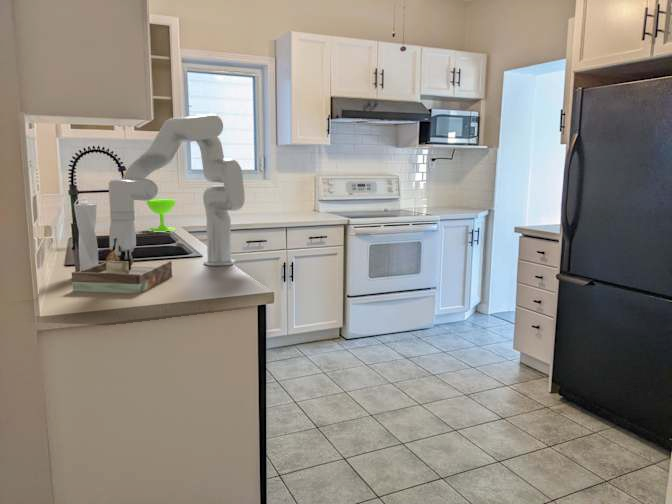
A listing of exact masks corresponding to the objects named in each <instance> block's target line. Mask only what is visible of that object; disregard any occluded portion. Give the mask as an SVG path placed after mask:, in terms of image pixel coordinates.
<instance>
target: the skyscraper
mask: <svg viewBox="0 0 672 504" xmlns="http://www.w3.org/2000/svg"><path fill="white" fill-rule="evenodd" d="M82 199H83V200H84V199H86V200H85V201H80V203H78V204H77V202H78V201H79V200H82ZM88 200H89V199H88V197H87V196H82V197H78V198H77V199H76V200H75V202H74V203H73V206H74V215H75V220H76V226H77V230H78V246H77V242H76V241H75V243H74V245H75V247H74V252H75V253H74V254H73V255H74V269H75V271H74V272H79V271H82V270H85V269H88V268H90V267H93V266H96V265H99V248H98V240H97V233H96V231H95V230H96V223H97V207H98V206H97V205H98V203H97V202H95V201H92V202H91V201H90V202H89V201H88Z"/></svg>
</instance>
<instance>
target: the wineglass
mask: <svg viewBox="0 0 672 504" xmlns="http://www.w3.org/2000/svg"><path fill="white" fill-rule="evenodd" d="M175 204H176V200H175V199H169V198H168V199H166V198H165V199H152V200H149V201H146V205H147V206H148V208H149V209H150V211H152V212H153V213H155V214H158V215H159V221H160V222H159V226H158V227H151V228H149V229H148V230H152V231H170V230H175V229H176V228H174V227H169V226H168V227H167V226H165V224H164V223H165V222H164V220H165V219H164V215H165V214H167V213H169V212H171V211H172V210H173V209H174V207H175Z"/></svg>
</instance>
